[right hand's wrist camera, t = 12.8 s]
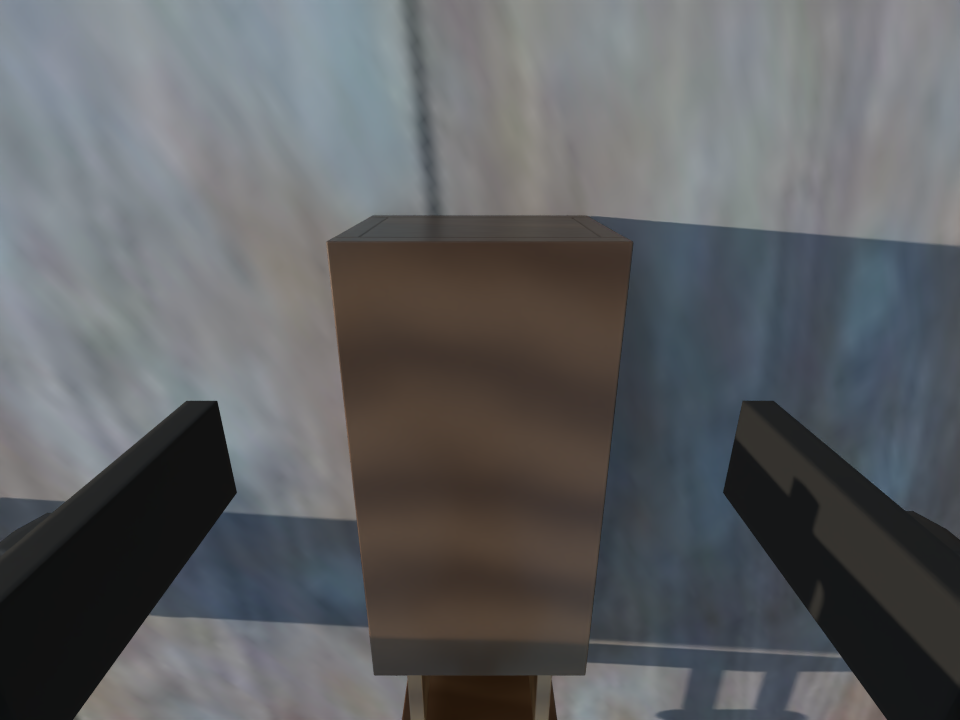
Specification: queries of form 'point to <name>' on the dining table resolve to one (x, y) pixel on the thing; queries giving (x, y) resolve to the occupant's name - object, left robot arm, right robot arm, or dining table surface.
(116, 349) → the dining table surface
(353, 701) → the dining table surface
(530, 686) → the drawer
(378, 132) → the dining table surface
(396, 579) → the cabinet
